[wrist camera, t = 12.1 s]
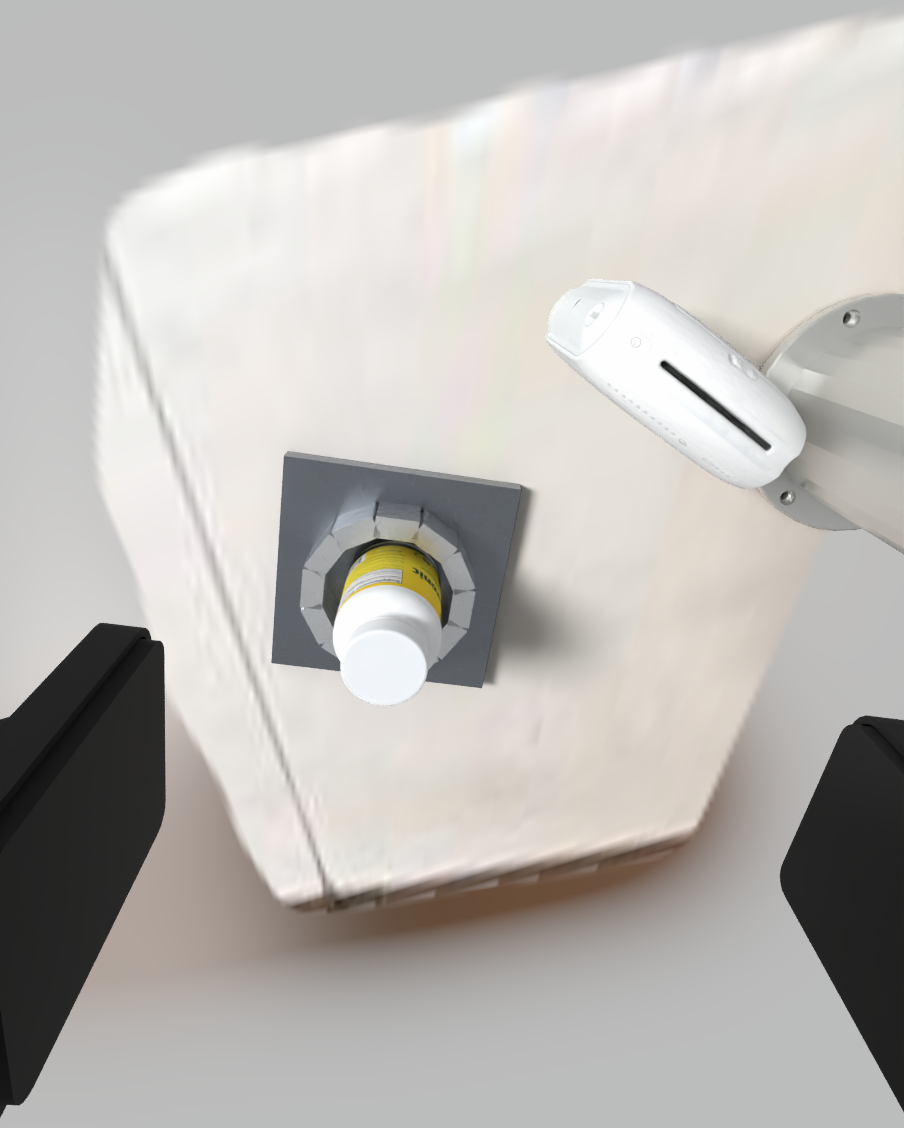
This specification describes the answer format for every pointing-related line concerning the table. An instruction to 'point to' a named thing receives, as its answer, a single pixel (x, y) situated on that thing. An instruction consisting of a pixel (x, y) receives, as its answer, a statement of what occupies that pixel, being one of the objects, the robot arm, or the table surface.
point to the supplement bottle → (389, 623)
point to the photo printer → (677, 380)
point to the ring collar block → (389, 513)
